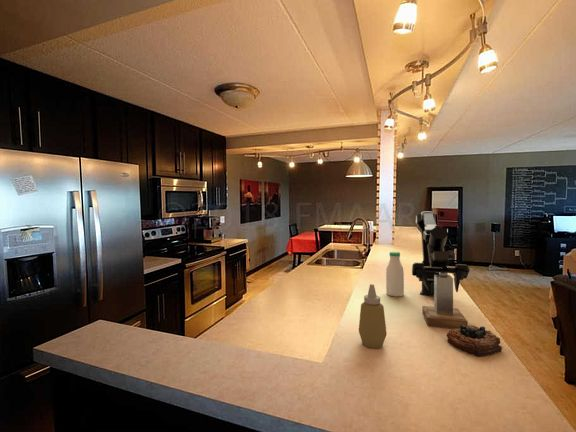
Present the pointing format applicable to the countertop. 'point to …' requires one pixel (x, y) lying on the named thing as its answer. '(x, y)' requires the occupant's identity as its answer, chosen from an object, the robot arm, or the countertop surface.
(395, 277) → the milk bottle
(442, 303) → the housing
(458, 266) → the robot arm
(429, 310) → the stand
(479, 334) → the pastry
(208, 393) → the countertop surface
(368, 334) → the squeeze bottle
